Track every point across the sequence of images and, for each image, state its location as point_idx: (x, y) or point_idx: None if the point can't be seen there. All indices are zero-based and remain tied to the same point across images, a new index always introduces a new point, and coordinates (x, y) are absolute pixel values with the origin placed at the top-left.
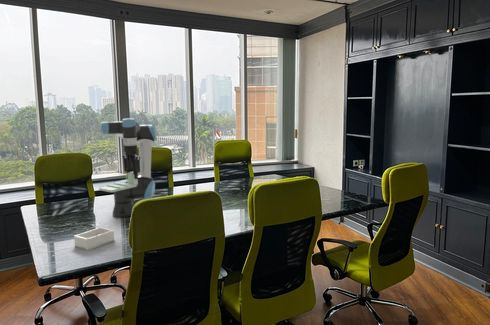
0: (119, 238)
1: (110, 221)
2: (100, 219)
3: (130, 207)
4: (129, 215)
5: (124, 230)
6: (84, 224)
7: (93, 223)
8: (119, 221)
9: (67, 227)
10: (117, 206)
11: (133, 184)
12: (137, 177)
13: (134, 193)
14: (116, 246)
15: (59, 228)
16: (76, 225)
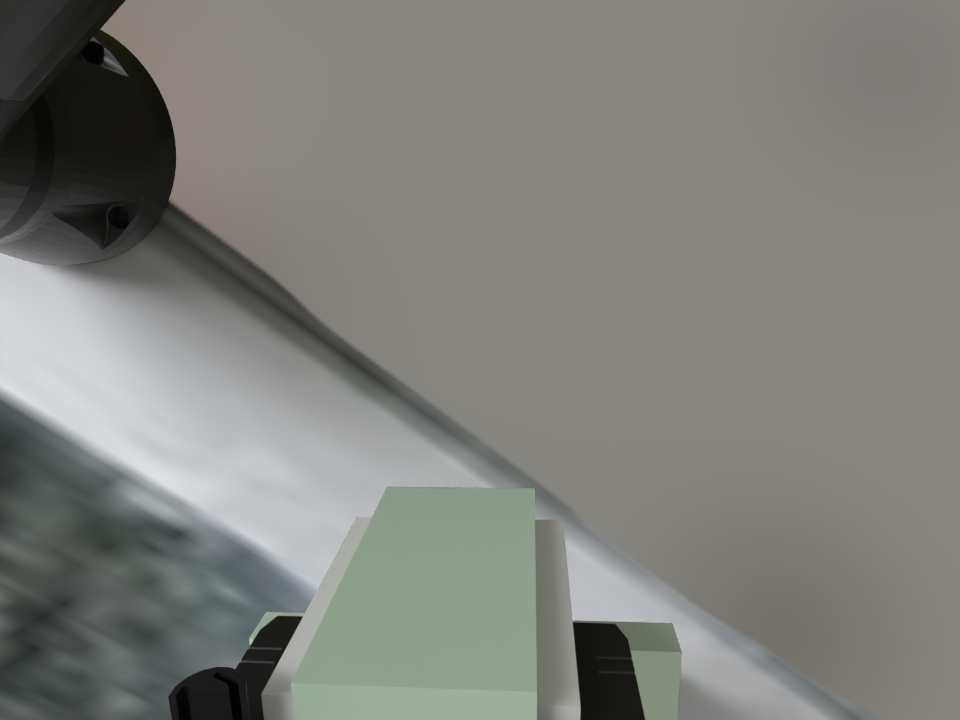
0: (636, 603)
1: (179, 372)
2: (51, 382)
3: (103, 126)
4: (171, 167)
5: (507, 466)
6: (87, 535)
7: (118, 482)
8: (245, 328)
9: (61, 639)
10: (14, 244)
11: None
12: (631, 660)
13: (39, 76)
14: (755, 711)
15: (41, 678)
16: (64, 580)
